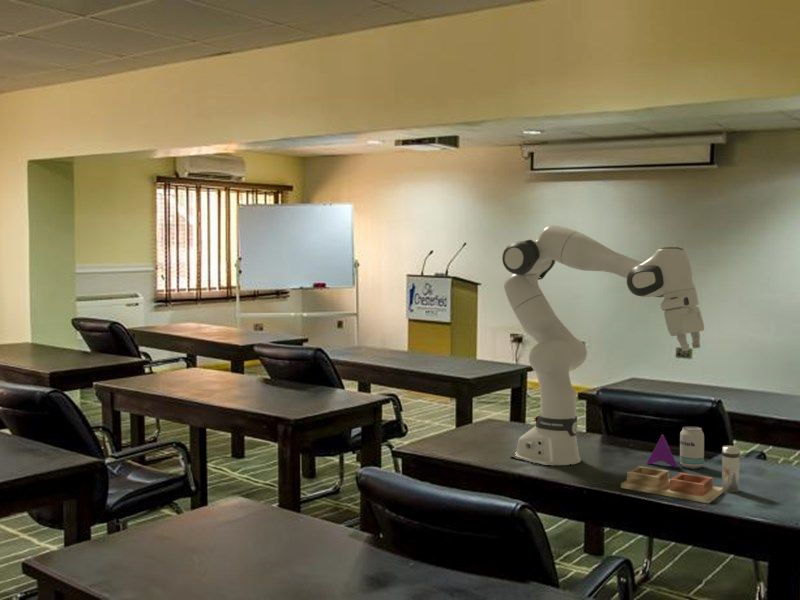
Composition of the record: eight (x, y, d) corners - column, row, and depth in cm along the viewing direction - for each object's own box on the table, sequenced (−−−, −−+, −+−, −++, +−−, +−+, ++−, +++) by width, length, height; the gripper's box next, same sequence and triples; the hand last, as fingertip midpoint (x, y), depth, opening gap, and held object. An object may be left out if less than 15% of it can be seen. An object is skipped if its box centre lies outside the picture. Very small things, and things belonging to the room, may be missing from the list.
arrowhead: (661, 480, 246) (638, 455, 249) (662, 478, 247) (639, 454, 250) (685, 460, 242) (661, 435, 245) (686, 459, 244) (662, 434, 247)
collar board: (620, 487, 222) (621, 472, 222) (638, 477, 232) (638, 463, 232) (709, 503, 207) (709, 487, 207) (723, 492, 218) (723, 476, 217)
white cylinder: (719, 490, 219) (719, 447, 218) (723, 486, 223) (724, 444, 222) (736, 493, 216) (737, 450, 216) (741, 489, 220) (742, 447, 219)
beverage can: (675, 466, 245) (675, 428, 244) (687, 463, 249) (687, 425, 249) (696, 470, 239) (696, 431, 239) (708, 467, 244) (708, 428, 243)
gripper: (682, 302, 236) (692, 348, 235) (658, 304, 220) (668, 353, 219) (704, 298, 233) (713, 345, 231) (680, 300, 217) (690, 350, 215)
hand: (691, 349), depth 225 cm, fingers open, 8 cm apart
